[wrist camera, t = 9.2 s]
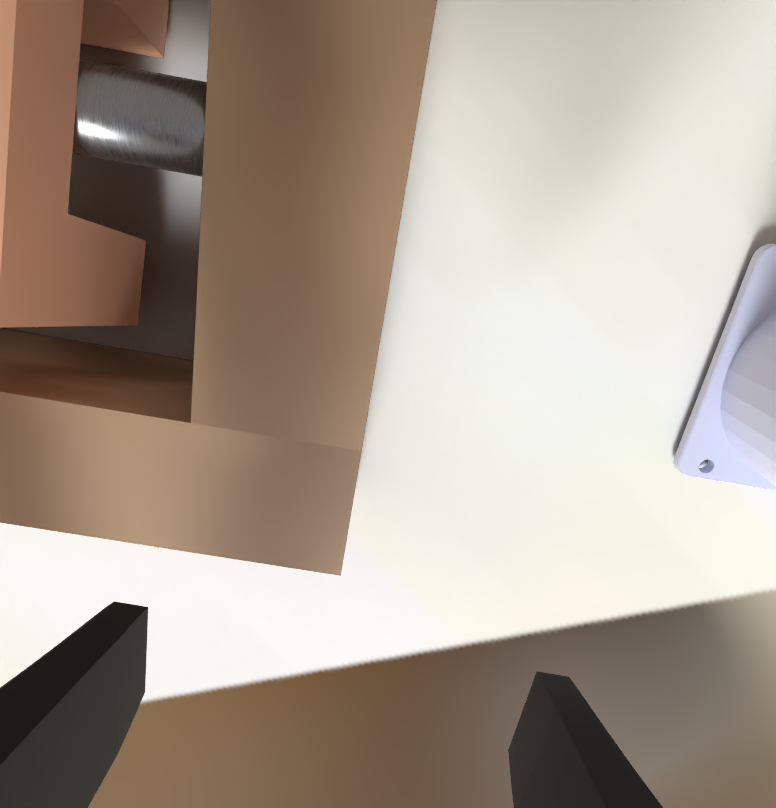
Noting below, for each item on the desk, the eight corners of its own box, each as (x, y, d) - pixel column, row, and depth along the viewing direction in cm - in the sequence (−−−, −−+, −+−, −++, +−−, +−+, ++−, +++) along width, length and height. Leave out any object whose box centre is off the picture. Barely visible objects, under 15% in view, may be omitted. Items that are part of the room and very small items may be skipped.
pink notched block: (173, -40, 15) (32, -281, 9) (138, 325, 16) (-3, 327, 10) (44, -64, 15) (-185, -324, 9) (20, 305, 16) (-191, 296, 10)
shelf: (490, -318, 13) (540, -621, 8) (354, 490, 20) (340, 575, 16) (-290, -485, 12) (-721, -918, 8) (-134, 411, 20) (-303, 475, 15)
